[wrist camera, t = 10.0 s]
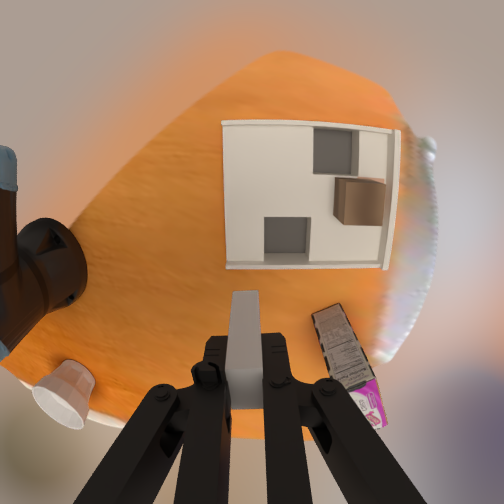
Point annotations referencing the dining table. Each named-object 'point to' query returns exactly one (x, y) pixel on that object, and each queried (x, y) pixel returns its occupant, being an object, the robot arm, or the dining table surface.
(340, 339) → the candy bar box
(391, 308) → the dining table surface
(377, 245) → the tray
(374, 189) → the block
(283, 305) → the dining table surface
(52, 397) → the cup
